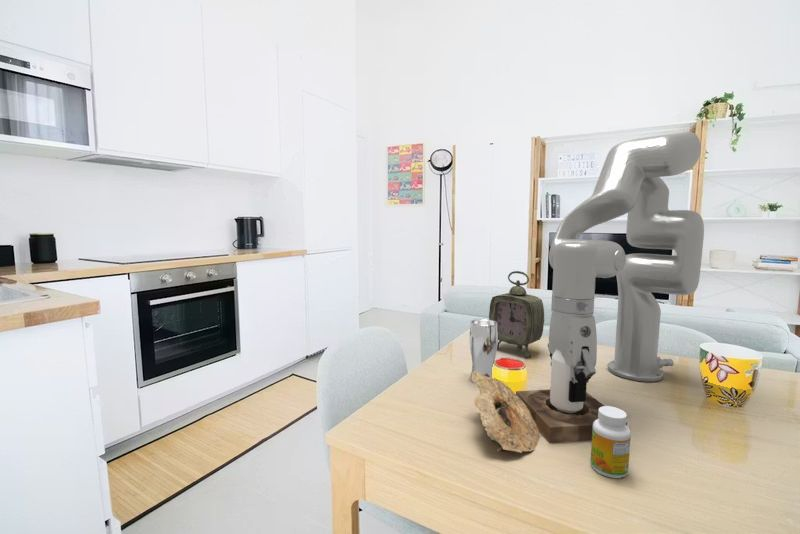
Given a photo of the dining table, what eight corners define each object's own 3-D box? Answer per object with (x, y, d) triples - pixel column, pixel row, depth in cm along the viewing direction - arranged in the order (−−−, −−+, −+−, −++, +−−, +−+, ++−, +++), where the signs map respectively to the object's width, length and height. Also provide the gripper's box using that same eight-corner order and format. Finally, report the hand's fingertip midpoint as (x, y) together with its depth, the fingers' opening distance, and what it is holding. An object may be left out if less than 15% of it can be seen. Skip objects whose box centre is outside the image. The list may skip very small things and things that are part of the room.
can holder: (579, 400, 86) (580, 387, 86) (626, 437, 71) (627, 422, 71) (515, 404, 84) (516, 391, 84) (549, 443, 69) (550, 427, 69)
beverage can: (567, 398, 81) (570, 343, 80) (590, 412, 75) (593, 353, 74) (543, 402, 79) (545, 346, 78) (564, 417, 74) (567, 356, 72)
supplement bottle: (583, 459, 65) (586, 404, 64) (613, 457, 65) (617, 403, 64) (602, 480, 59) (606, 421, 58) (635, 478, 60) (640, 419, 59)
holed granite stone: (544, 480, 69) (564, 453, 66) (470, 471, 66) (487, 442, 63) (511, 402, 85) (526, 377, 82) (450, 392, 82) (463, 365, 79)
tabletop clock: (488, 348, 121) (490, 270, 118) (503, 342, 127) (506, 267, 124) (530, 360, 111) (534, 274, 108) (545, 353, 117) (549, 272, 114)
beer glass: (494, 375, 100) (496, 319, 99) (498, 386, 93) (500, 326, 92) (467, 374, 101) (468, 318, 99) (469, 385, 94) (471, 325, 92)
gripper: (620, 315, 67) (613, 413, 69) (566, 296, 84) (562, 376, 86) (579, 316, 66) (573, 416, 68) (533, 297, 83) (530, 377, 85)
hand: (567, 392), depth 77 cm, fingers closed on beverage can, 5 cm apart
